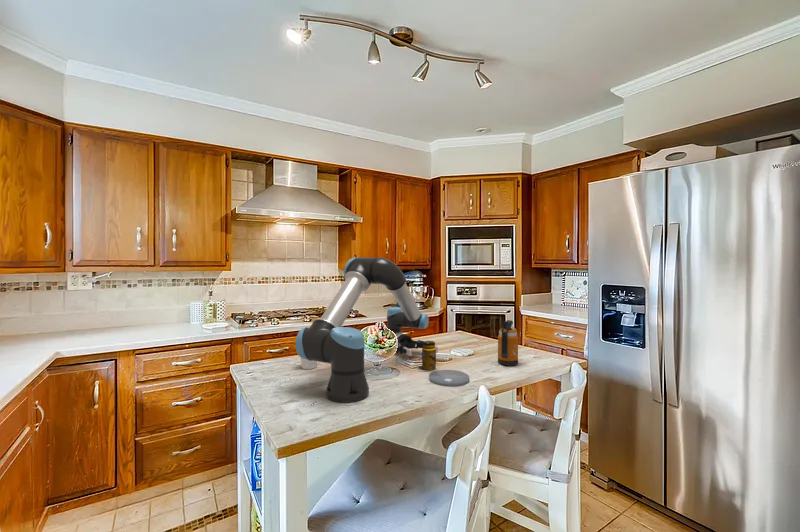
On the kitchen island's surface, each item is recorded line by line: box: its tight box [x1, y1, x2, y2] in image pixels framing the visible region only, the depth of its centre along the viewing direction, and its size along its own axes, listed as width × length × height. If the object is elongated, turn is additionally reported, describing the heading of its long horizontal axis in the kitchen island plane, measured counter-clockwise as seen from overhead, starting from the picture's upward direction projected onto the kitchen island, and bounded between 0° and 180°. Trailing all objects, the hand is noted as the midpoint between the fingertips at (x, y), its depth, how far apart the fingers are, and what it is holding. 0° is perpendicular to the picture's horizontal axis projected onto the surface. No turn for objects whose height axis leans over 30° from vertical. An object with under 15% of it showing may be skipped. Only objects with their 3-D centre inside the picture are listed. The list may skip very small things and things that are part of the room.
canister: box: [497, 319, 519, 367], centre depth 172 cm, size 9×11×20 cm
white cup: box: [300, 357, 318, 370], centre depth 167 cm, size 8×8×10 cm
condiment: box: [415, 340, 438, 372], centre depth 165 cm, size 7×8×12 cm
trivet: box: [428, 369, 470, 387], centre depth 151 cm, size 16×16×2 cm
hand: (424, 351), depth 168 cm, fingers open, 13 cm apart
